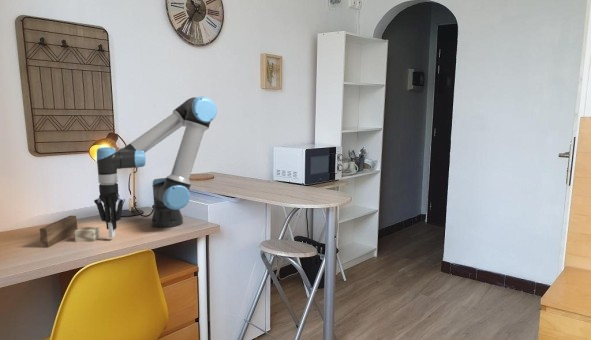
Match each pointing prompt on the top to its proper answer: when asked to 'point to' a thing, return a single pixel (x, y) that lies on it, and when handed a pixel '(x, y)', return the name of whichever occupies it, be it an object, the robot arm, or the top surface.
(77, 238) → the beech block
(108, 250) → the top surface
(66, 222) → the walnut board
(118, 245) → the top surface
